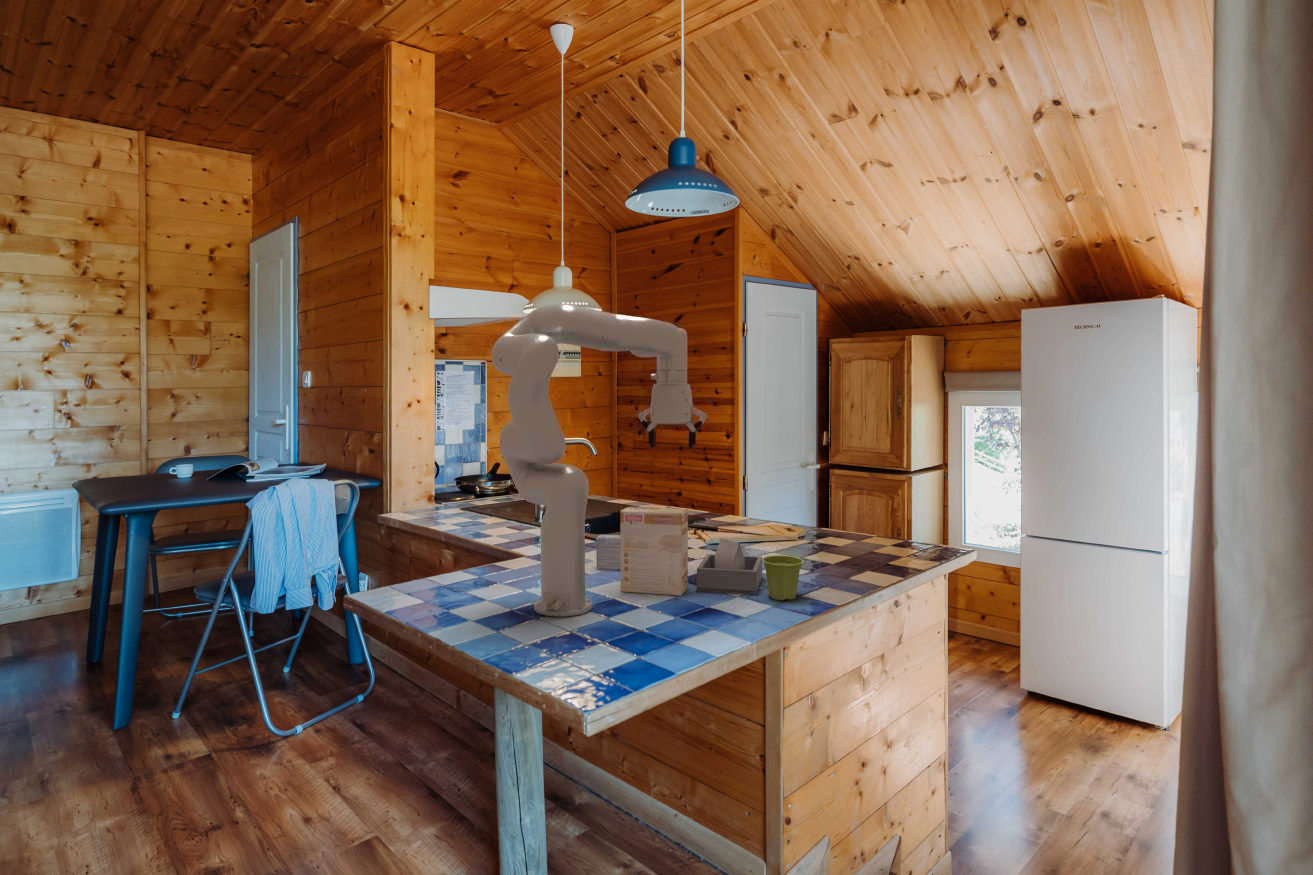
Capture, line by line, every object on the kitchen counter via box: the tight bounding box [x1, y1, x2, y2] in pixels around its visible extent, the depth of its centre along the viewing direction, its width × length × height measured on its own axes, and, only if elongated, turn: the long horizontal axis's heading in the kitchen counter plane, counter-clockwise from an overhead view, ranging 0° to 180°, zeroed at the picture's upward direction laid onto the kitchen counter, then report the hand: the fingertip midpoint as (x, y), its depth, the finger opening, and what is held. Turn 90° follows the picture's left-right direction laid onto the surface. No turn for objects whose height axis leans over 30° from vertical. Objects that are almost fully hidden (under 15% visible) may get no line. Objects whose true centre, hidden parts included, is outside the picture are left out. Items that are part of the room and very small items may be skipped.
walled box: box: [696, 553, 763, 596], centre depth 182 cm, size 16×14×6 cm
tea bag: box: [715, 537, 745, 570], centre depth 182 cm, size 4×7×10 cm, turn 36°
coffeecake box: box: [619, 506, 689, 597], centre depth 177 cm, size 15×7×20 cm, turn 74°
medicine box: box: [595, 534, 621, 571], centre depth 199 cm, size 8×4×9 cm, turn 84°
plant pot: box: [762, 554, 805, 601], centre depth 171 cm, size 9×9×9 cm
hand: (672, 447), depth 186 cm, fingers open, 9 cm apart
